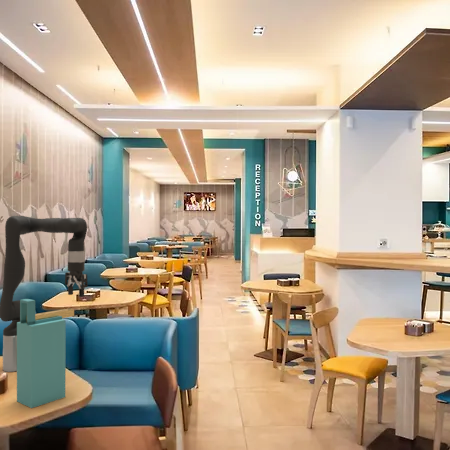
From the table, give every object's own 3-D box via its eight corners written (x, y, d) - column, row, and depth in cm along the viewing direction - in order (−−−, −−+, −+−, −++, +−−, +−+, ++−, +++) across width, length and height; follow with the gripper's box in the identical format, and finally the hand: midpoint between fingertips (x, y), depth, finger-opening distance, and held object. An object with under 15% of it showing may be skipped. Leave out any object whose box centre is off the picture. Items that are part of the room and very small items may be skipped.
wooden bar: (26, 322, 190) (26, 315, 190) (69, 315, 205) (70, 308, 205) (30, 324, 188) (30, 316, 188) (74, 316, 204) (74, 309, 204)
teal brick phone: (16, 401, 191) (16, 299, 191) (50, 390, 203) (50, 294, 202) (31, 408, 184) (31, 302, 184) (65, 396, 196) (65, 297, 196)
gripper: (60, 260, 221) (60, 295, 221) (78, 262, 212) (78, 298, 212) (74, 259, 227) (74, 293, 227) (92, 261, 218) (92, 296, 218)
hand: (76, 295), depth 220 cm, fingers open, 8 cm apart
